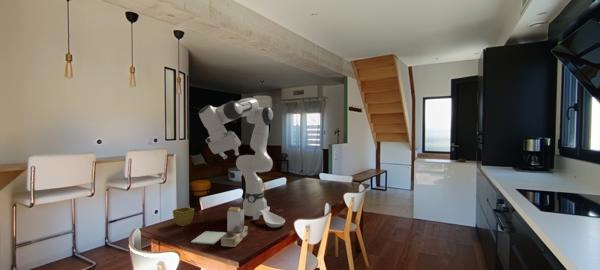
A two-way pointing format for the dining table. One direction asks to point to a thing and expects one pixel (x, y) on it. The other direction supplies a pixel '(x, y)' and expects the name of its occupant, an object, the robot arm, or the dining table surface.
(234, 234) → the block plane
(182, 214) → the flower pot
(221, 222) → the dining table surface
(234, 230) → the grey tall block
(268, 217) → the spoon rest
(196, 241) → the mat
